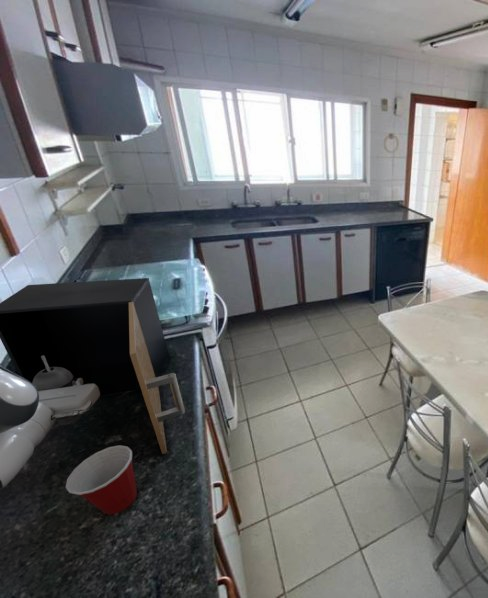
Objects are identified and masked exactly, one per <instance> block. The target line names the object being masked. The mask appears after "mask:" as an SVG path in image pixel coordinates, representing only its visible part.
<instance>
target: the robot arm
mask: <svg viewBox="0 0 488 598" xmlns="http://www.w3.org/2000/svg"><path fill="white" fill-rule="evenodd" d="M71 383H72V385H73V386H71V387H64V388H57V389H50V390H43V391H38V390H37V388H36V387H35V386H34V385H33V384H32V383H31V382H29V381H28V380H26V379H25V378H23V377H21V376H19V374H18V373H15V372H13V371H12V370H10V369H8V368H7V367H5V366H4V365H2V364H1V363H0V490H2V489H3V488H5V487H7V485H8V484H9V483H11V482H12V480H13V479H14V478H15V477H16V476H17V475H18V474H19V473H20V471H21V470H22V469H23V468H24V466H25V465H26V464H27V463H28V461H29V460H30V458H31V457H32V456H33V453H34V451H35V448H36V447H37V446H38V445H39V444H41V443H42V441H43V440H44V439H45V438H46V436H47V434H48V433H49V431H50V430H51V429H52V428H53V426H54V425H55V423H56V421H57V420H56V419H60V418H65V417H70V416H77V415H79V414H82V415H83V414H84V413H86V412H88V411H89V410H90V409H91V408H92V406H93V405H94V404H95V403H96V402H97V400H98V399H100V398H99V396H100V391H99V388H98V386H97V385H96V384H94V383H92V384H85V385H82V384H83V379H82V378H76V379H73V381H72V382H71Z"/></svg>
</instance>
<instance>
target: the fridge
mask: <svg viewBox="0 0 488 598" xmlns="http://www.w3.org/2000/svg"><path fill="white" fill-rule="evenodd" d="M129 302H133V303H134V307H135V310H136V313H137V317H138V320H139V323H140V327H141V330H142V334H143V337H144V340H145V344H146V347H147V350H148V354H149V357H150V361H151V364H152V367H153V371H154V374H155V377H156V378H157V377H160V376H163V375H162V374H163V372H164V370H165V366H166V364H167V361H168V360H169V357H170V352H169V349H168V346H167V342H166V338H165V334H164V330H163V327H162V323H161V320H160V315H159V312H158V308H157V305H156V304H157V303H156V301H155V297H154V293H153V289H152V286H151V282H150V278H149V277H142V278H123V279H107V280H106V279H105V280H90V281H89V280H87V281H72V282H56V283H55V282H54V283H39V284H27V285H26V286H24V287H23V288H21V289H20V290H18V291H17V292H15V293H13V294H12V295H10V296H9V297H7V298H5V299H4V300H3V301H1V302H0V342H1V343H2V346H3V347H4V349H5V351H6V353H7V355H8V357H9V359H10V361H11V362H12V365H13V367H14V368H15V370H16V372H17V373H16V374H17V375H19V376H21V377H23V378H25V379H26V380H28V381H29V382H31V383H32V382H33V379H34V377H35V376H36V375H37V374H38V373H39V372H40V371H42V370H44V369H46V367H45V364H44V362H43V360H42V357H41V356H45V359H46V361H47V363H48V366H49V368H50V367H62V368H65V369H67V370H68V371H70V372H71V374H72V375H73V376H74V379H76V378H82V379H83V384H82V385H85V384H92V383H94V384H96V385H97V386H98V388H99V391H100V396H99V398H98V399H100V398H104V397H109V396H115V395H119V394H125V393H130V392H135V391H137V389H138V388H137V381H136V372H135V369H134V366H133V363H132V360H131V357H130V341H129Z"/></svg>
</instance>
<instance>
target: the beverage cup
mask: <svg viewBox="0 0 488 598" xmlns="http://www.w3.org/2000/svg"><path fill="white" fill-rule="evenodd" d="M41 357H42V360H43V362H44V364H45V367H46V369H44V370H42V371H40V372H39V373H38V374H37V375H36V376H35V377H34V379H33V382H32V384H33V385H34V386H35V387H36V388H37V390H38V391H43V390H50V389H57V388H64V387H71V386H73V385H72V383H71V382H72V381H73V379H74V376H73V375H72V374H71V372H70V371H68V370H67V369H65V368H62V367H50V368H49V366H48V363H47V361H46V359H45V356H41ZM82 416H83V413H82V414H79V415H77V416H70V417H65V418H60V419H56V420H55V421H56V422H57V423H58V425H61V426H66V425H69V424H70V425H71V424H73V423H75V422H77V421H78V420H80V419H81V418H82Z"/></svg>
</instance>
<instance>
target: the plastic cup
mask: <svg viewBox="0 0 488 598" xmlns="http://www.w3.org/2000/svg"><path fill="white" fill-rule="evenodd" d="M65 483H66V484H65V489H66V491H68V493H69V494H72V495H78V496H80V497H81V498H84V499H85V500H87V501H88V502H89V503H90V504H92V505H93V506H94V507H96V508H97V509H98V510H100V511H101V512H102V513H104V514H105V515H114V514H116V515H117V514H119V513H121V512H123V511H125V510H126V509H127V508H129V507H130V506H131V505H132V504H133V503H134V501H135V500H136V498H137V496H138V490H137V485H136V484H137V481H136V476H135V472H134V466H133V450H132V449H131V448H130V447H129V446H126V445H114V446H109V447H106V448H104V449H102V450H99V451H97V452H95V453H94V454H92V455H90V456H89V457H87V458H86V459H84V460H82V461H81V463H79V464H78V465H77V466H76V467H75V468H74V469H73V471H71V473H70V474H69V476H68V477H67V479H66V482H65Z"/></svg>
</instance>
